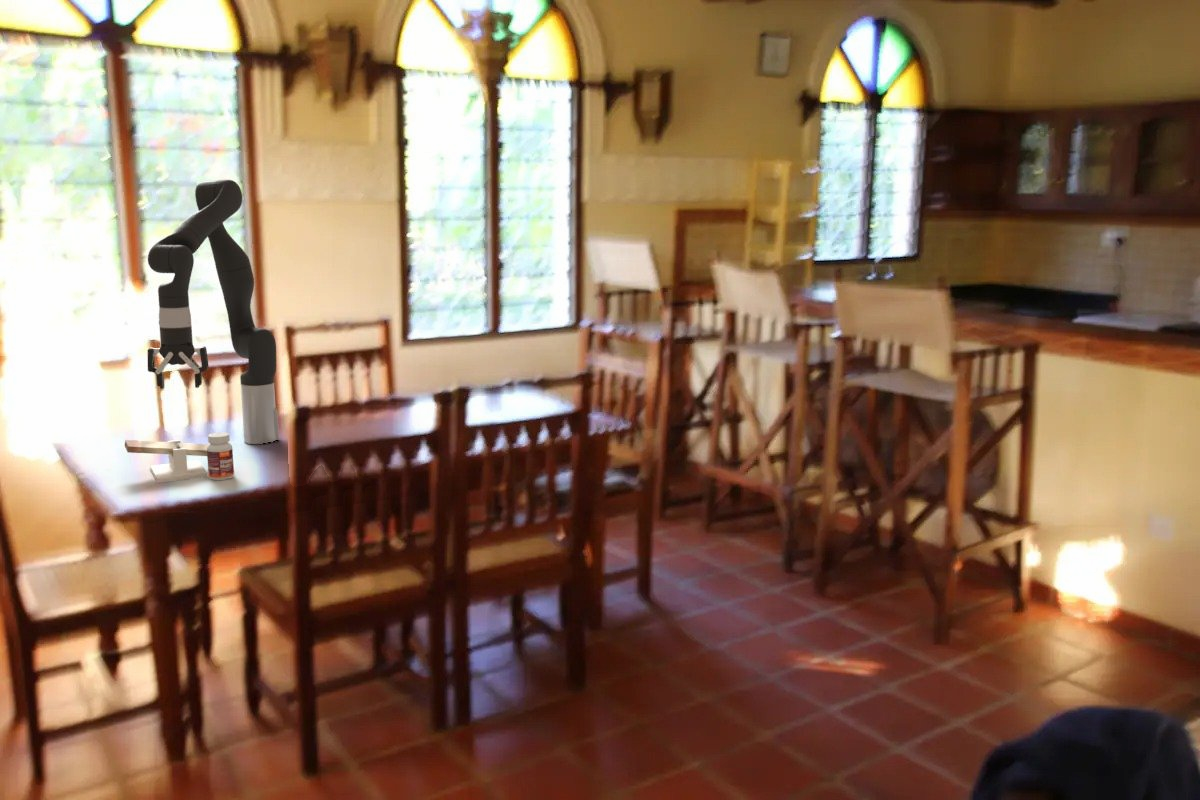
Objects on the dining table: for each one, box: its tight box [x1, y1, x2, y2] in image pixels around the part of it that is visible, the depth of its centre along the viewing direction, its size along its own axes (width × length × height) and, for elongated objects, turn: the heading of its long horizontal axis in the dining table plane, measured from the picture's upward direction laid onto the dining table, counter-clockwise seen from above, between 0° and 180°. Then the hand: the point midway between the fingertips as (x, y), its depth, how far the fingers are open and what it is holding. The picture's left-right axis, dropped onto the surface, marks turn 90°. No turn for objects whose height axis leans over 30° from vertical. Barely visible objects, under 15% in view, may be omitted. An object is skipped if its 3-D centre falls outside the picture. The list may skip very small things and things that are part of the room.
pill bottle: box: [206, 431, 235, 481], centre depth 268 cm, size 6×6×11 cm
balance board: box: [124, 439, 210, 457], centre depth 272 cm, size 24×8×2 cm, turn 120°
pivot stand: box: [149, 439, 209, 483], centre depth 272 cm, size 12×14×8 cm
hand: (179, 387), depth 268 cm, fingers open, 8 cm apart
